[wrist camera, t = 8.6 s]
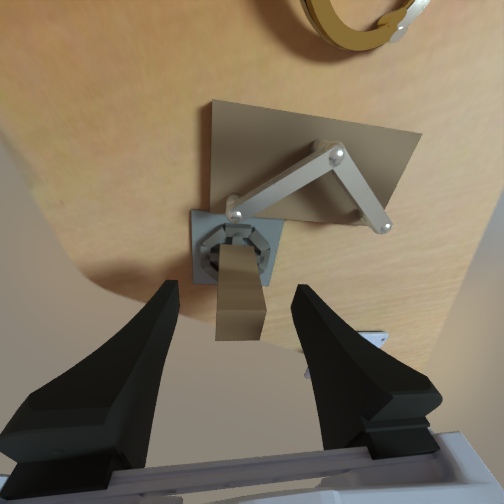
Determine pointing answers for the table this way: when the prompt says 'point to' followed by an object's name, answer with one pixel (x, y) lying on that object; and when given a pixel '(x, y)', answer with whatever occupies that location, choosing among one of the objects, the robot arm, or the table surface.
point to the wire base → (294, 150)
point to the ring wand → (237, 280)
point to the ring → (345, 38)
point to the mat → (208, 222)
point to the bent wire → (302, 173)
